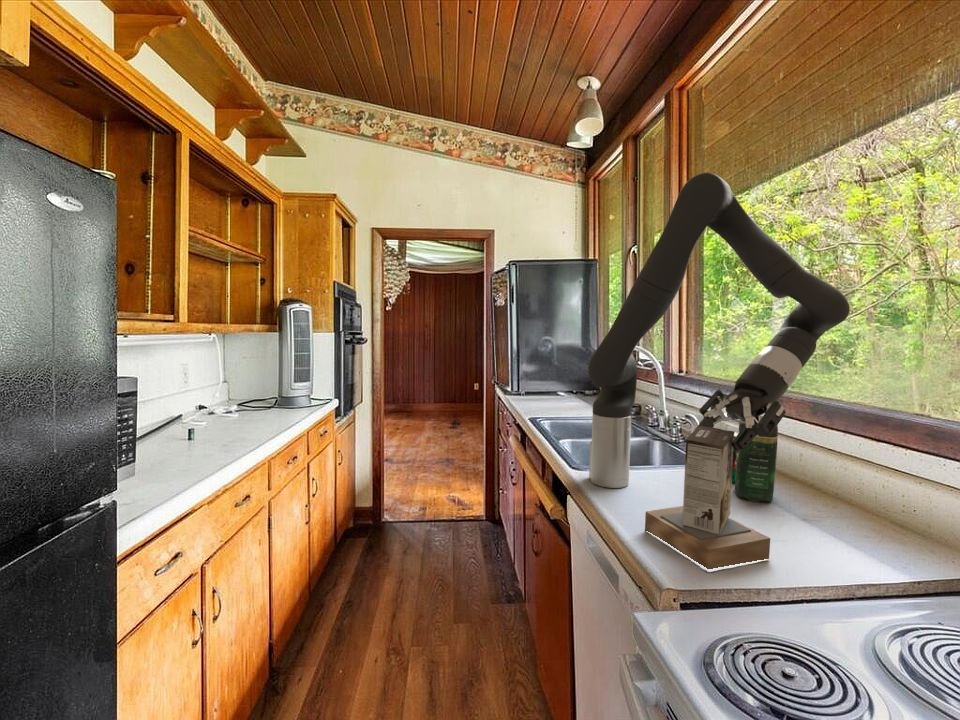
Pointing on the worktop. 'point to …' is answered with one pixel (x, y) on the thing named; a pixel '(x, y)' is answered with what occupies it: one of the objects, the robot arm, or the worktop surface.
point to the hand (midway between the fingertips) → (716, 442)
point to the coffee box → (708, 479)
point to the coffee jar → (757, 467)
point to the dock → (708, 539)
